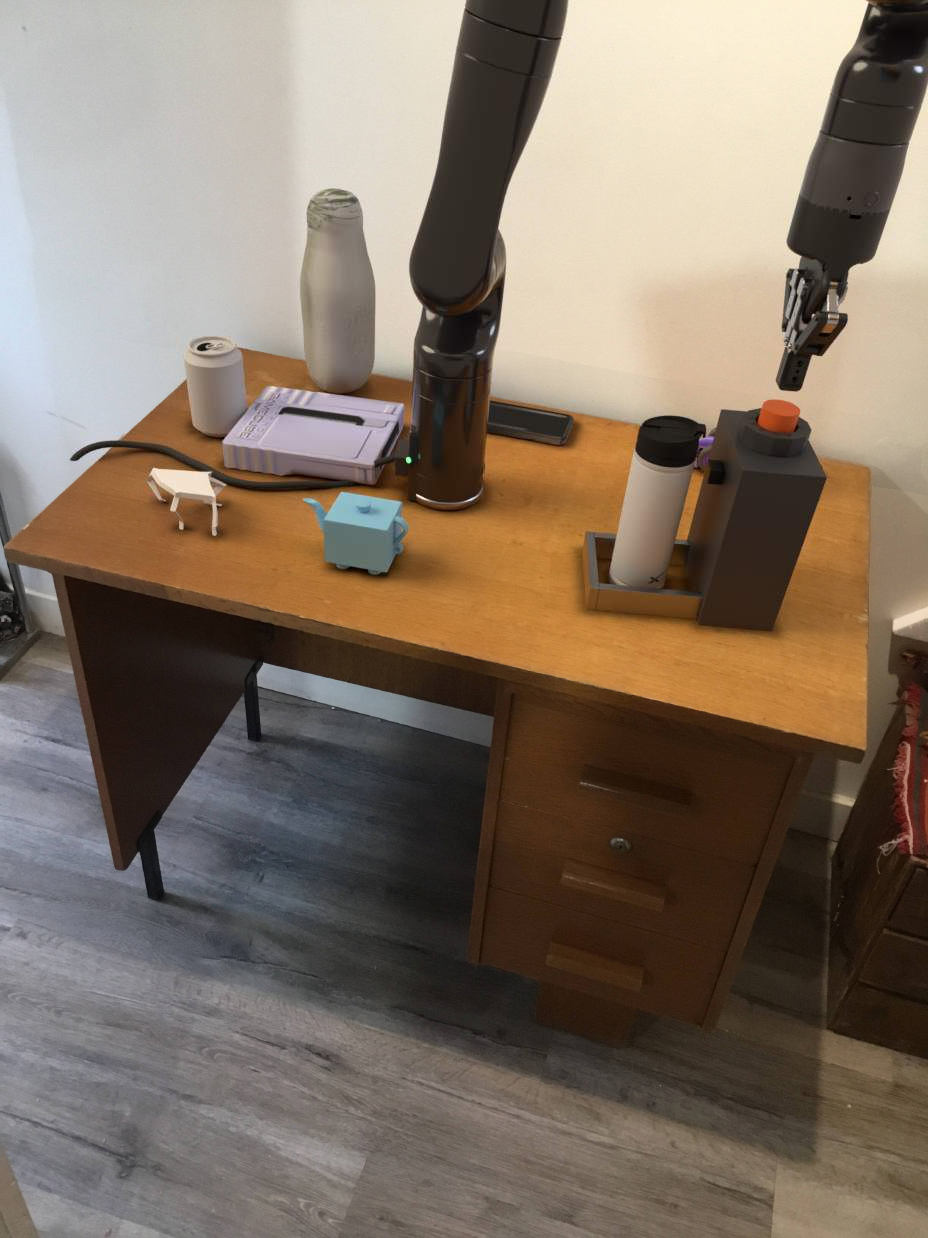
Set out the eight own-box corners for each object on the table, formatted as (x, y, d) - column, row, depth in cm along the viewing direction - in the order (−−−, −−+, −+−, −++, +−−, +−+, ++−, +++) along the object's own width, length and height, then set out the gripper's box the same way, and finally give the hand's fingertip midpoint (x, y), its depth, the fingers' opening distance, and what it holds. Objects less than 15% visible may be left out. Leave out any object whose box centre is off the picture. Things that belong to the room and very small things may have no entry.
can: (204, 411, 129) (194, 328, 121) (256, 418, 128) (248, 335, 121) (184, 436, 123) (172, 350, 115) (238, 442, 122) (229, 357, 115)
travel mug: (665, 605, 100) (707, 442, 88) (605, 595, 101) (639, 432, 88) (666, 573, 105) (707, 414, 92) (609, 563, 106) (642, 404, 93)
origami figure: (250, 507, 110) (247, 471, 107) (215, 543, 104) (210, 506, 101) (163, 486, 113) (157, 450, 110) (123, 520, 106) (116, 483, 103)
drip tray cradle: (586, 609, 99) (610, 483, 89) (581, 552, 107) (603, 430, 97) (696, 619, 99) (732, 493, 89) (683, 561, 107) (715, 440, 97)
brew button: (761, 433, 88) (766, 413, 87) (754, 416, 91) (759, 397, 90) (798, 436, 88) (804, 417, 87) (789, 419, 91) (795, 400, 90)
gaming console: (266, 384, 129) (405, 401, 127) (268, 408, 131) (404, 426, 129) (219, 443, 115) (374, 463, 113) (222, 469, 117) (374, 489, 115)
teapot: (296, 563, 102) (292, 505, 97) (314, 534, 107) (311, 478, 102) (399, 581, 100) (401, 524, 96) (413, 551, 105) (415, 495, 100)
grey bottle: (336, 369, 142) (331, 175, 125) (387, 388, 138) (389, 191, 121) (292, 389, 136) (280, 188, 118) (344, 410, 132) (339, 204, 114)
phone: (475, 397, 135) (575, 415, 132) (475, 404, 136) (573, 422, 133) (461, 420, 129) (565, 439, 126) (460, 427, 130) (564, 446, 127)
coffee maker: (697, 625, 98) (748, 450, 85) (682, 556, 108) (725, 390, 95) (772, 631, 98) (834, 458, 85) (749, 562, 108) (802, 397, 95)
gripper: (784, 172, 82) (736, 357, 93) (820, 212, 71) (761, 415, 82) (868, 179, 82) (810, 363, 92) (916, 220, 71) (844, 422, 82)
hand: (787, 387), depth 87 cm, fingers closed
